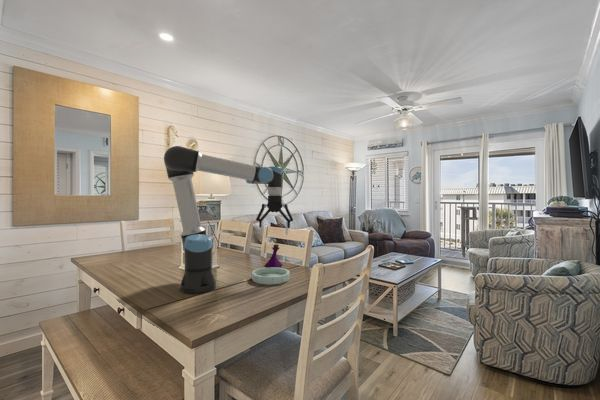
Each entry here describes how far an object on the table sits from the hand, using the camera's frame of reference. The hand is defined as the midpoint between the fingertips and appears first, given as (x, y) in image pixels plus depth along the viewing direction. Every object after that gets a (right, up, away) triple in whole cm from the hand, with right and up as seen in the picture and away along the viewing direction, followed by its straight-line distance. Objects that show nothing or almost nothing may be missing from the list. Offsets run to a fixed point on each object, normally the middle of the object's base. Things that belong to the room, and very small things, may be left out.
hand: (274, 233), depth 158 cm
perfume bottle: (-1, -21, +2) cm, 21 cm away
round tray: (-1, -21, -13) cm, 25 cm away
